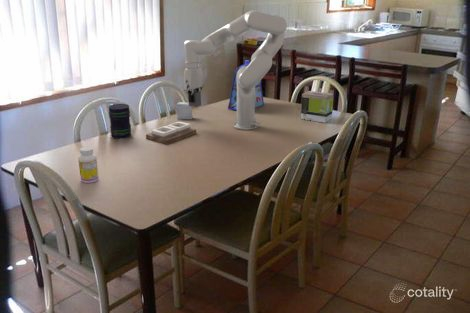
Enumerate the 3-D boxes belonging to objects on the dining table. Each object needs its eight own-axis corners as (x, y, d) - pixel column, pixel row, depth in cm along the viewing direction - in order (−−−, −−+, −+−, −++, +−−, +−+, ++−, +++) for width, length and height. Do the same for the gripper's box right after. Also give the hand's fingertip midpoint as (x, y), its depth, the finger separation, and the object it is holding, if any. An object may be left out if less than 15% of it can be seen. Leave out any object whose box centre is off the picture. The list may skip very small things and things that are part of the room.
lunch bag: (246, 112, 265) (247, 63, 255) (227, 109, 272) (227, 61, 262) (264, 105, 282) (266, 58, 272) (246, 102, 289) (246, 56, 279)
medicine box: (192, 117, 255) (192, 102, 252) (191, 119, 251) (190, 104, 248) (178, 117, 256) (178, 102, 253) (177, 119, 252) (176, 104, 249)
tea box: (332, 119, 254) (334, 93, 249) (325, 123, 246) (327, 97, 241) (307, 115, 262) (309, 90, 256) (300, 119, 254) (301, 93, 248)
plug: (201, 105, 233) (200, 89, 230) (196, 106, 230) (195, 90, 227) (193, 103, 236) (193, 87, 233) (188, 105, 233) (187, 89, 230)
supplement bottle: (83, 176, 177) (79, 145, 172) (100, 176, 177) (97, 145, 173) (79, 183, 171) (75, 151, 166) (97, 183, 171) (93, 151, 166)
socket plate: (190, 128, 229) (190, 124, 228) (163, 138, 215) (163, 133, 214) (175, 125, 234) (175, 120, 234) (148, 134, 220) (148, 129, 219)
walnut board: (196, 133, 229) (196, 129, 228) (166, 144, 213) (166, 140, 212) (176, 128, 236) (176, 124, 236) (146, 138, 221) (145, 134, 220)
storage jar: (124, 131, 231) (122, 102, 226) (135, 135, 225) (133, 106, 219) (107, 135, 225) (104, 106, 219) (117, 140, 218) (115, 110, 213)
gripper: (198, 62, 234) (199, 97, 241) (175, 67, 222) (178, 103, 228) (209, 63, 230) (210, 99, 236) (187, 68, 217) (189, 105, 224)
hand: (194, 101), depth 232 cm, fingers closed on plug, 4 cm apart
